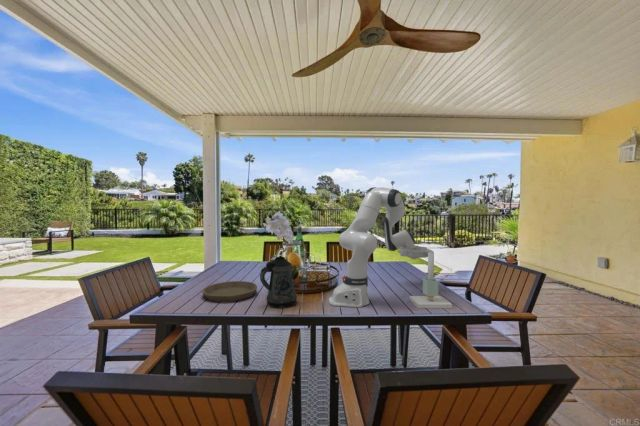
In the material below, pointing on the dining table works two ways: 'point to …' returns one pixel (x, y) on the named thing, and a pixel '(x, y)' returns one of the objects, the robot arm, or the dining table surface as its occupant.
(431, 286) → the sleeve
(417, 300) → the post stand
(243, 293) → the plant saucer
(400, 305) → the dining table surface
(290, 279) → the beer stein
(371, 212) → the robot arm
